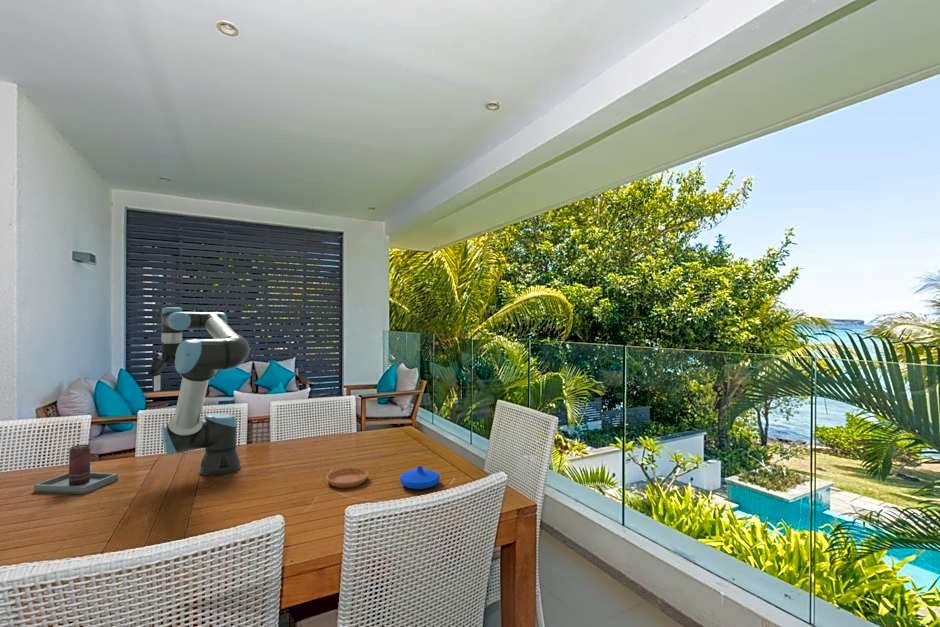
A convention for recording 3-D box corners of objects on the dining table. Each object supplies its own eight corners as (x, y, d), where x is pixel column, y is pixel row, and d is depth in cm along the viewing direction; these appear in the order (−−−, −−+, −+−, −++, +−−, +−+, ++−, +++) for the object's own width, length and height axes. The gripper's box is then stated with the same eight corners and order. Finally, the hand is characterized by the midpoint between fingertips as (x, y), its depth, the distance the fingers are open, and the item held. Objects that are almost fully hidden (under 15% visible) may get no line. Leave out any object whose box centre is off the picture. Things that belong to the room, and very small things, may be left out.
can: (63, 485, 167) (64, 448, 167) (81, 479, 173) (81, 443, 173) (76, 486, 166) (77, 449, 166) (94, 480, 172) (94, 444, 172)
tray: (117, 480, 175) (117, 473, 175) (83, 494, 161) (83, 487, 161) (71, 477, 177) (71, 471, 177) (34, 491, 163) (34, 484, 163)
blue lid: (407, 496, 162) (407, 477, 162) (394, 481, 176) (394, 464, 176) (446, 488, 170) (446, 470, 170) (430, 475, 184) (430, 458, 184)
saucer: (375, 477, 181) (375, 470, 181) (353, 492, 166) (353, 484, 166) (342, 472, 186) (342, 465, 186) (317, 486, 171) (317, 479, 171)
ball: (94, 472, 182) (94, 464, 182) (85, 476, 179) (85, 467, 179) (86, 472, 183) (86, 463, 183) (77, 475, 179) (77, 466, 179)
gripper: (204, 342, 197) (204, 390, 197) (152, 341, 199) (152, 388, 199) (192, 343, 189) (191, 393, 189) (138, 342, 192) (138, 391, 192)
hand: (171, 391), depth 194 cm, fingers open, 13 cm apart
